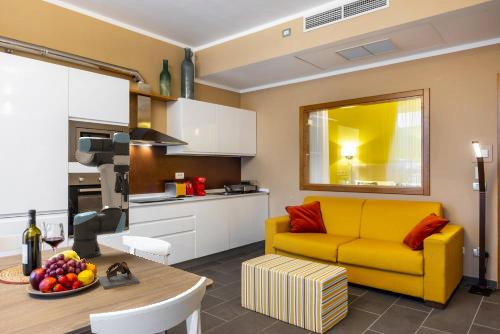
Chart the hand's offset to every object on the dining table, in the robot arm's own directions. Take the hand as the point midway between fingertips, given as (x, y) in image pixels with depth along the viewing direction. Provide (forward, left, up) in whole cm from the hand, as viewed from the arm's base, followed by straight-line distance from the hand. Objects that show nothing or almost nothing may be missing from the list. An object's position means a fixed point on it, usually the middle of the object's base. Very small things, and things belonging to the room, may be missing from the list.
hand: (121, 207), depth 172 cm
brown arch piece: (+24, -6, -28) cm, 37 cm away
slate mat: (+24, -7, -29) cm, 38 cm away
